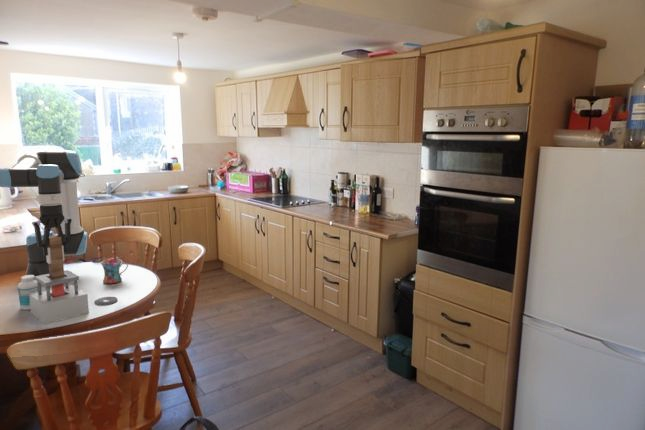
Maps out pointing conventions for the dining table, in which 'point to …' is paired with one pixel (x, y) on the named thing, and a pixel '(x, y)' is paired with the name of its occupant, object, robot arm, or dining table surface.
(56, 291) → the breaker button
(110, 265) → the mug
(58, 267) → the brown wooden block
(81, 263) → the dining table surface
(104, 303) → the pad
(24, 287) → the pill bottle
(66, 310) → the box
